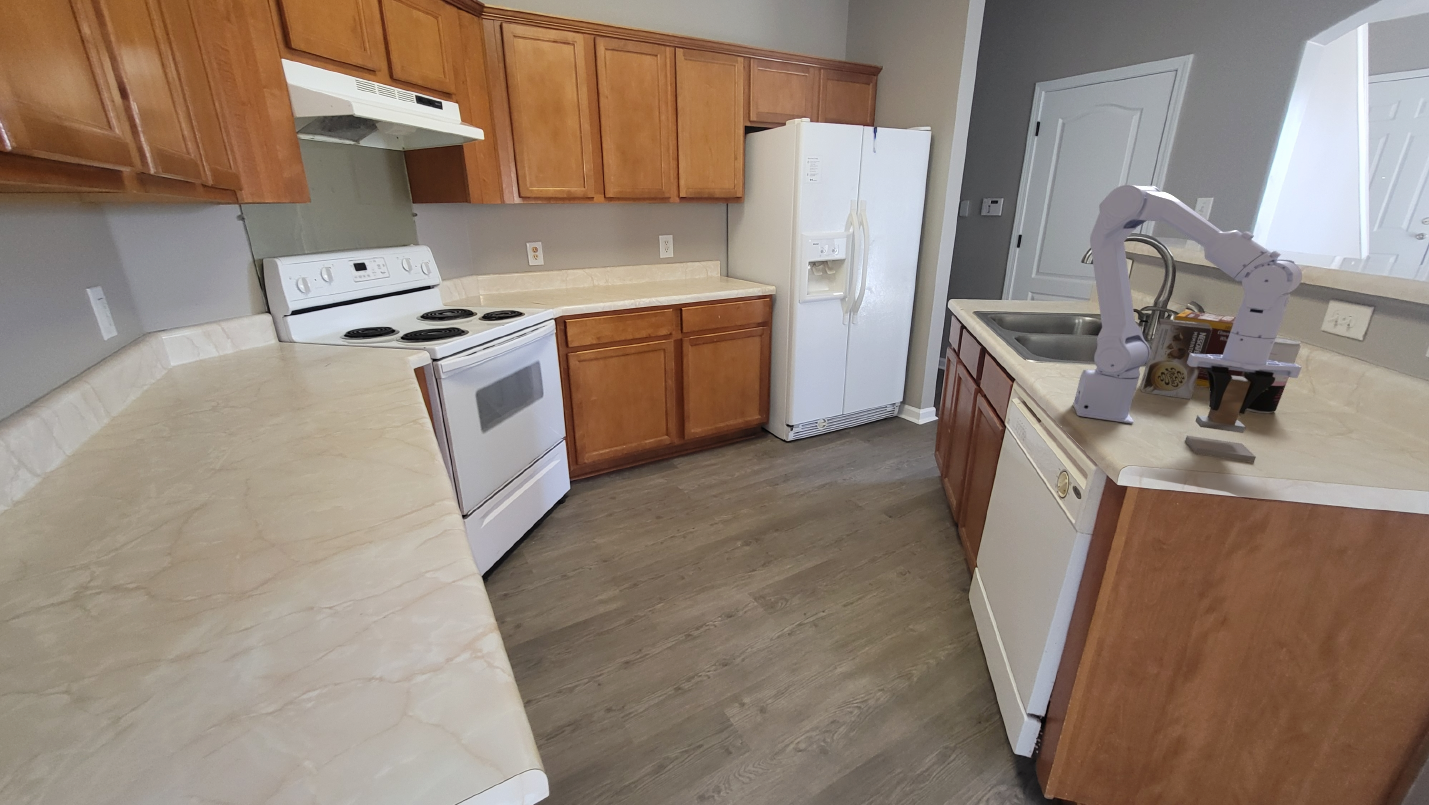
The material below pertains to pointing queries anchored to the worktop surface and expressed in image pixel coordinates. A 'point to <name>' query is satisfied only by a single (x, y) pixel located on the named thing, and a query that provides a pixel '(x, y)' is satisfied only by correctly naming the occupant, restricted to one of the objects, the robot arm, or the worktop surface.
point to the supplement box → (1212, 338)
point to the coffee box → (1174, 358)
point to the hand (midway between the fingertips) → (1225, 410)
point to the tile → (1220, 449)
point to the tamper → (1227, 408)
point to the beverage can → (1276, 376)
